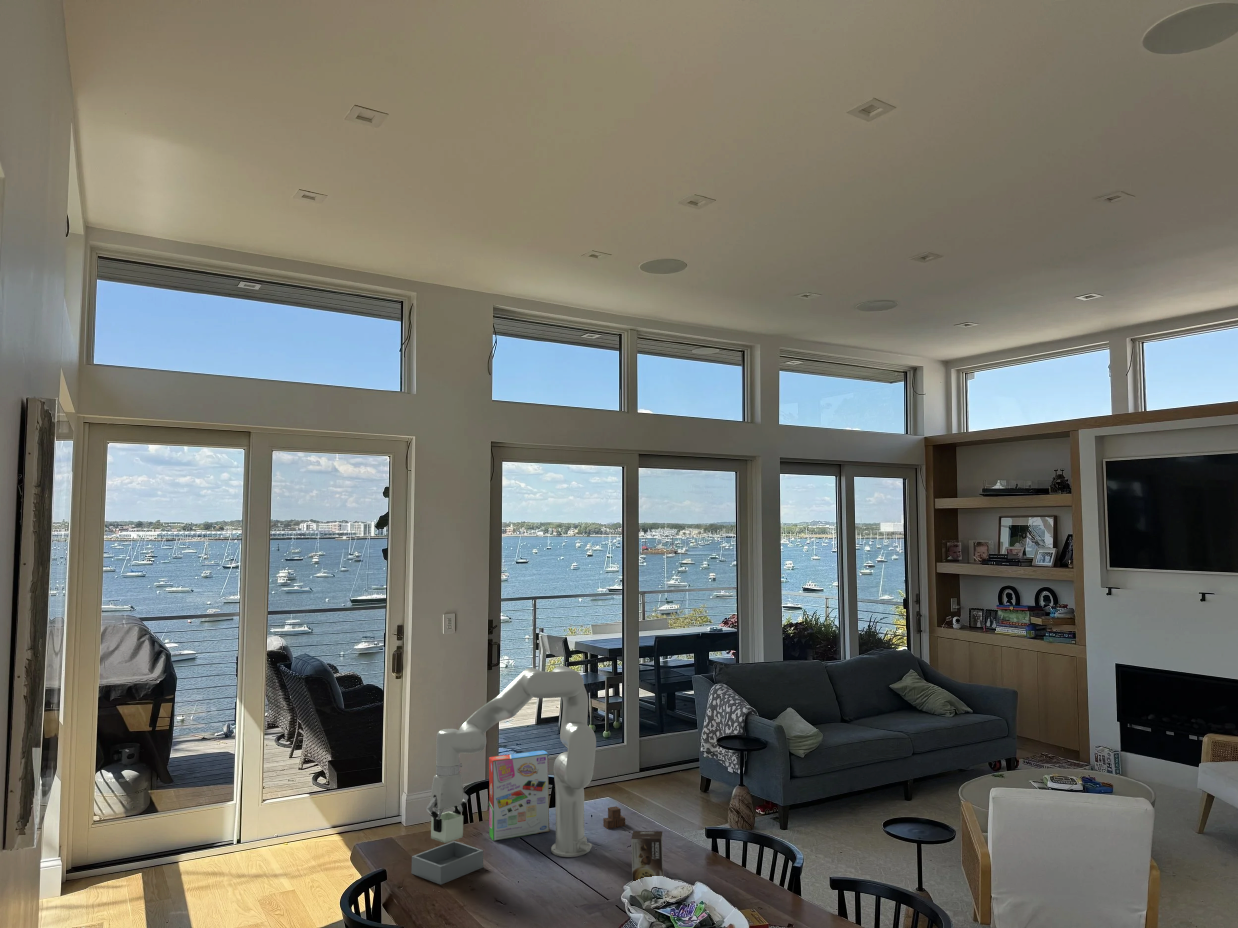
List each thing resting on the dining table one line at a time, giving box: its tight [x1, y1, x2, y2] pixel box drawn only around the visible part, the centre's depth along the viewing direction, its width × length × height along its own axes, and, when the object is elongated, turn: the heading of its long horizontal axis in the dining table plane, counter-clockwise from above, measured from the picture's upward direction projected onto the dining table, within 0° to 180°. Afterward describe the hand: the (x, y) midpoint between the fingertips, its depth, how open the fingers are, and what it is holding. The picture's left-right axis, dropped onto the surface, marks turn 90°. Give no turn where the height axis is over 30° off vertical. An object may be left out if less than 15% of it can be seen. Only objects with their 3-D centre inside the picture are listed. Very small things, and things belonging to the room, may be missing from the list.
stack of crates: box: [602, 805, 626, 830], centre depth 301 cm, size 15×15×7 cm
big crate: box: [411, 840, 484, 886], centre depth 263 cm, size 14×17×6 cm
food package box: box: [630, 830, 665, 882], centre depth 246 cm, size 9×6×16 cm
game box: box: [488, 749, 550, 842], centre depth 296 cm, size 21×6×27 cm, turn 114°
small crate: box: [430, 811, 464, 844], centre depth 264 cm, size 7×7×6 cm
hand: (447, 827), depth 264 cm, fingers closed on small crate, 7 cm apart
